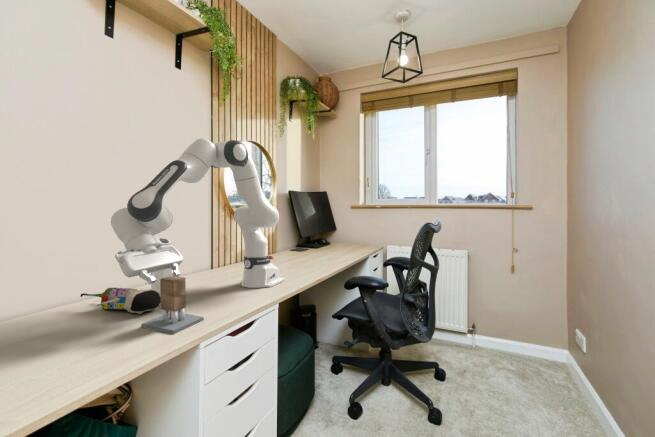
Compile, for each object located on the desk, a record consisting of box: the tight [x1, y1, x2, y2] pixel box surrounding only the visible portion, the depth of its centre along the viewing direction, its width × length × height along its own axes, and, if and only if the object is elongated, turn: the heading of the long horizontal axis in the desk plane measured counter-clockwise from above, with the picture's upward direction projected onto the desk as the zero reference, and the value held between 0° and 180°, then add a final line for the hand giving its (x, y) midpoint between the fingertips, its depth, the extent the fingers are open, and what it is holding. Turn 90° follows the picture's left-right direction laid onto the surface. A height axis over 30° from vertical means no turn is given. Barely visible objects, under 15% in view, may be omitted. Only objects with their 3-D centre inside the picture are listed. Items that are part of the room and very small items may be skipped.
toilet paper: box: [150, 268, 173, 294], centre depth 136 cm, size 10×10×12 cm
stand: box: [140, 308, 205, 335], centre depth 99 cm, size 12×14×5 cm
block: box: [159, 276, 187, 312], centre depth 98 cm, size 4×6×10 cm
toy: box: [80, 287, 161, 315], centre depth 112 cm, size 23×9×30 cm
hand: (165, 279), depth 99 cm, fingers open, 8 cm apart
